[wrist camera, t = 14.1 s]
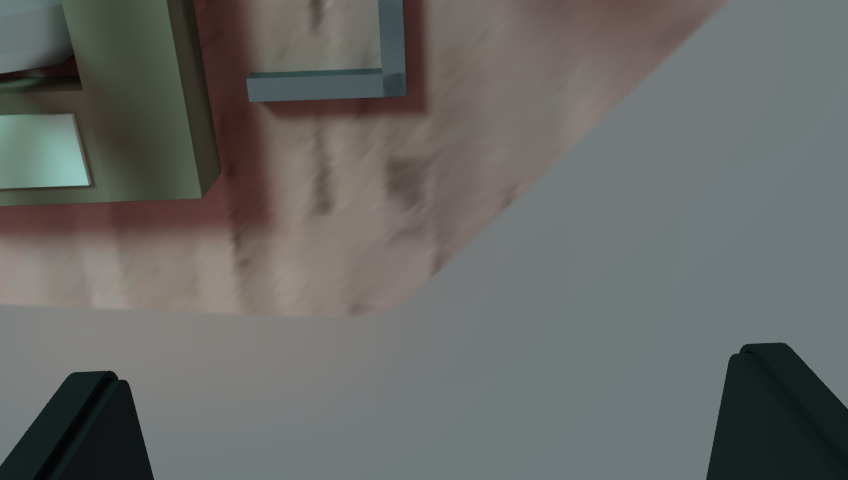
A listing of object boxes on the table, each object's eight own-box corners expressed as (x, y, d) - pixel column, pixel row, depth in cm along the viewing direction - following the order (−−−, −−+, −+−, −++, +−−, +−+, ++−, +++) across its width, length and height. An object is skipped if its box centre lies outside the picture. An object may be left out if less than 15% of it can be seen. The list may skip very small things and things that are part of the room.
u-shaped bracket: (398, -105, 33) (398, -106, 31) (406, 90, 37) (406, 96, 35) (228, -99, 33) (221, -100, 31) (254, 95, 36) (249, 101, 35)
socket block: (159, -203, 31) (123, -222, 27) (220, 172, 38) (200, 200, 34) (-197, -192, 30) (-284, -210, 27) (-64, 183, 38) (-117, 212, 34)
